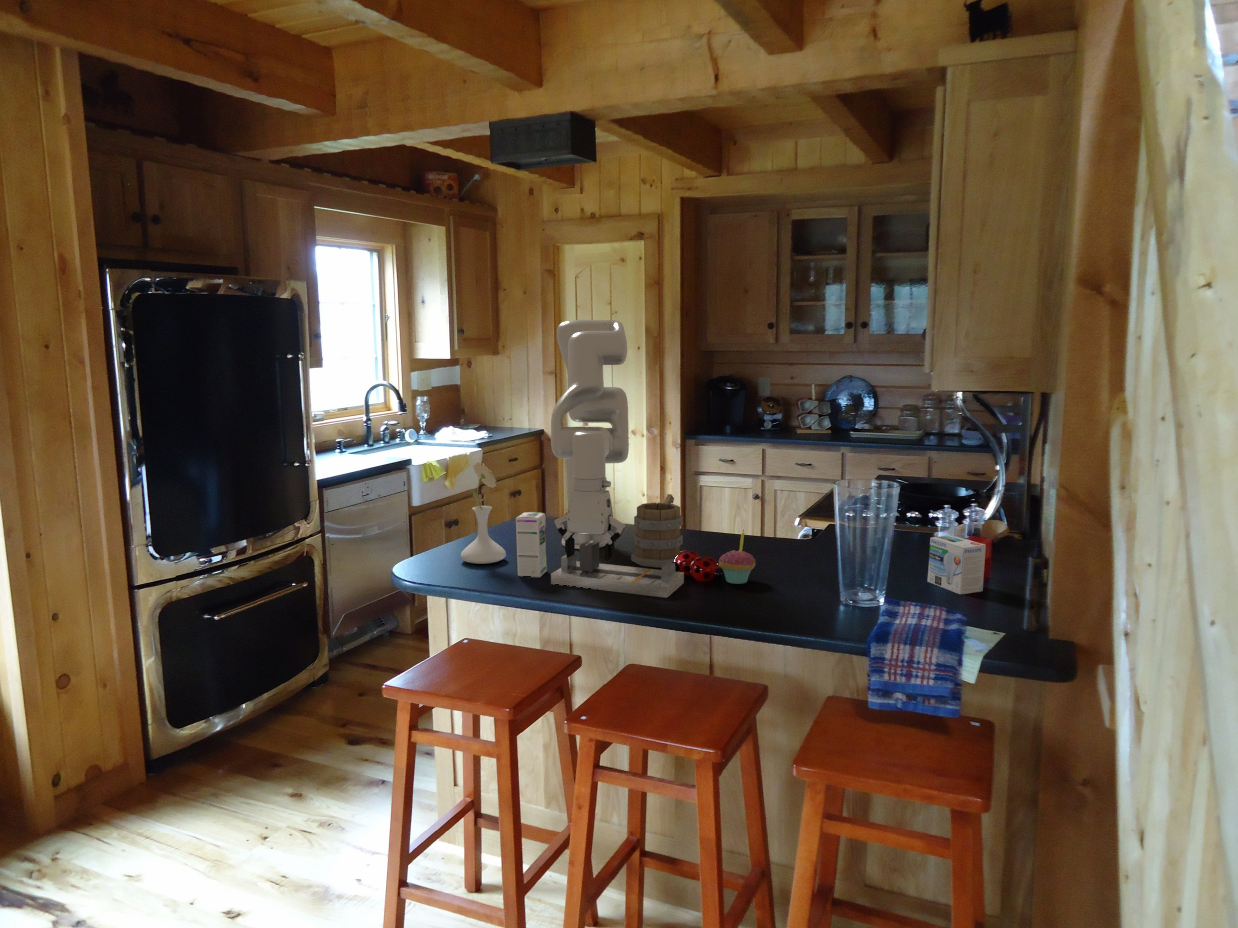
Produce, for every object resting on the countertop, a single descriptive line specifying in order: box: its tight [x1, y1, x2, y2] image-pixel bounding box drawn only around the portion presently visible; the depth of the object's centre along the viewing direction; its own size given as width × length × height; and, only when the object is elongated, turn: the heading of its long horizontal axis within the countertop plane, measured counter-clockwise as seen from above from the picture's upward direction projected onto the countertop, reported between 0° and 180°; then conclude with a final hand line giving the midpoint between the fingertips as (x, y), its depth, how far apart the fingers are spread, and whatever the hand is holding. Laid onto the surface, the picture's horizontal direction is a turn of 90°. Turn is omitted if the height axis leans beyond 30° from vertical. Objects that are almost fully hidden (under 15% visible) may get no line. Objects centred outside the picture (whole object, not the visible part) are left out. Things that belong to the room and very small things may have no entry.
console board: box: [550, 552, 685, 599], centre depth 201 cm, size 12×28×6 cm, turn 68°
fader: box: [579, 541, 600, 572], centre depth 203 cm, size 4×3×6 cm
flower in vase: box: [460, 461, 507, 565], centre depth 219 cm, size 13×11×25 cm
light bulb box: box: [927, 534, 987, 595], centre depth 198 cm, size 11×7×11 cm, turn 23°
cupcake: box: [718, 529, 756, 585], centre depth 202 cm, size 9×8×12 cm
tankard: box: [630, 493, 684, 569], centre depth 223 cm, size 20×13×15 cm, turn 160°
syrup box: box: [515, 511, 548, 578], centre depth 208 cm, size 6×6×14 cm
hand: (589, 557), depth 202 cm, fingers open, 9 cm apart
